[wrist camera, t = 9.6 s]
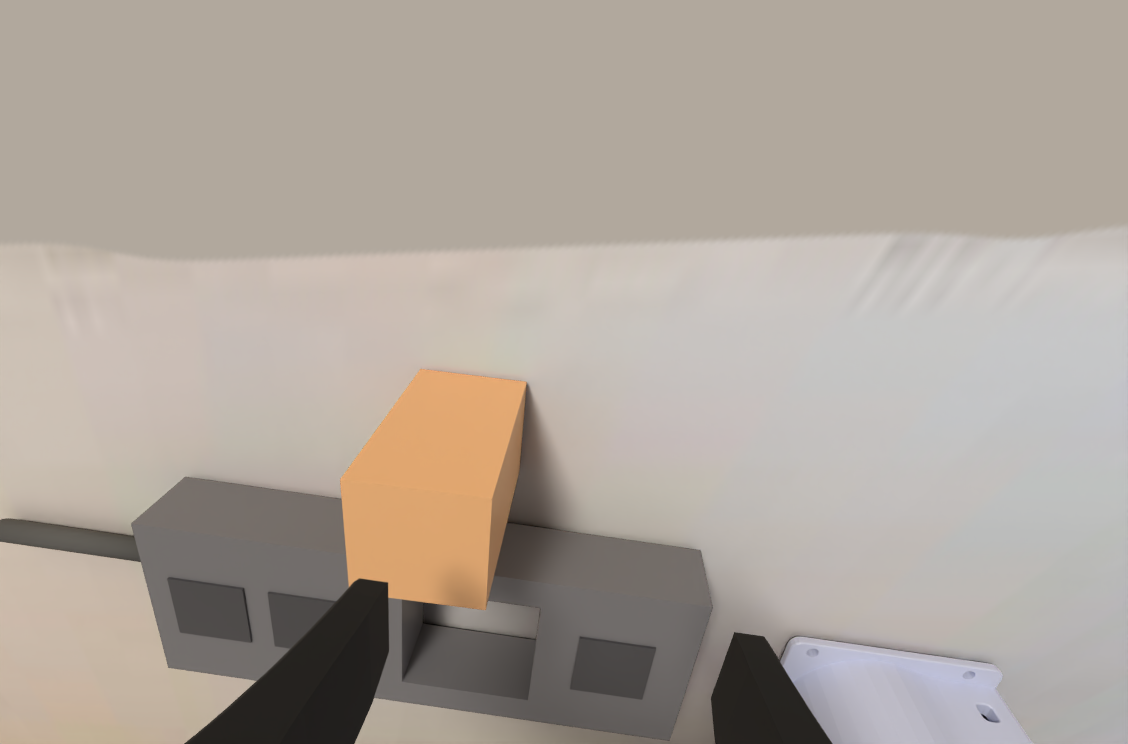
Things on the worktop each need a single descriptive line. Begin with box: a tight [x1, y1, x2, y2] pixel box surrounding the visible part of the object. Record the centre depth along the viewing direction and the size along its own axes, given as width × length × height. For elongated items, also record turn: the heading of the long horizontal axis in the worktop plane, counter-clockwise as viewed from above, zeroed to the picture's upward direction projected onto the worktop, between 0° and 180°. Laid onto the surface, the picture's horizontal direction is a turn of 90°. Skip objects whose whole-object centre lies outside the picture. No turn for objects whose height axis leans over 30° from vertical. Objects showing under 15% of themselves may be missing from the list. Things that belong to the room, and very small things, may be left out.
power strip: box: [0, 477, 713, 741], centre depth 24 cm, size 31×8×3 cm, turn 83°
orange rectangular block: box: [340, 369, 527, 610], centre depth 19 cm, size 4×4×7 cm
